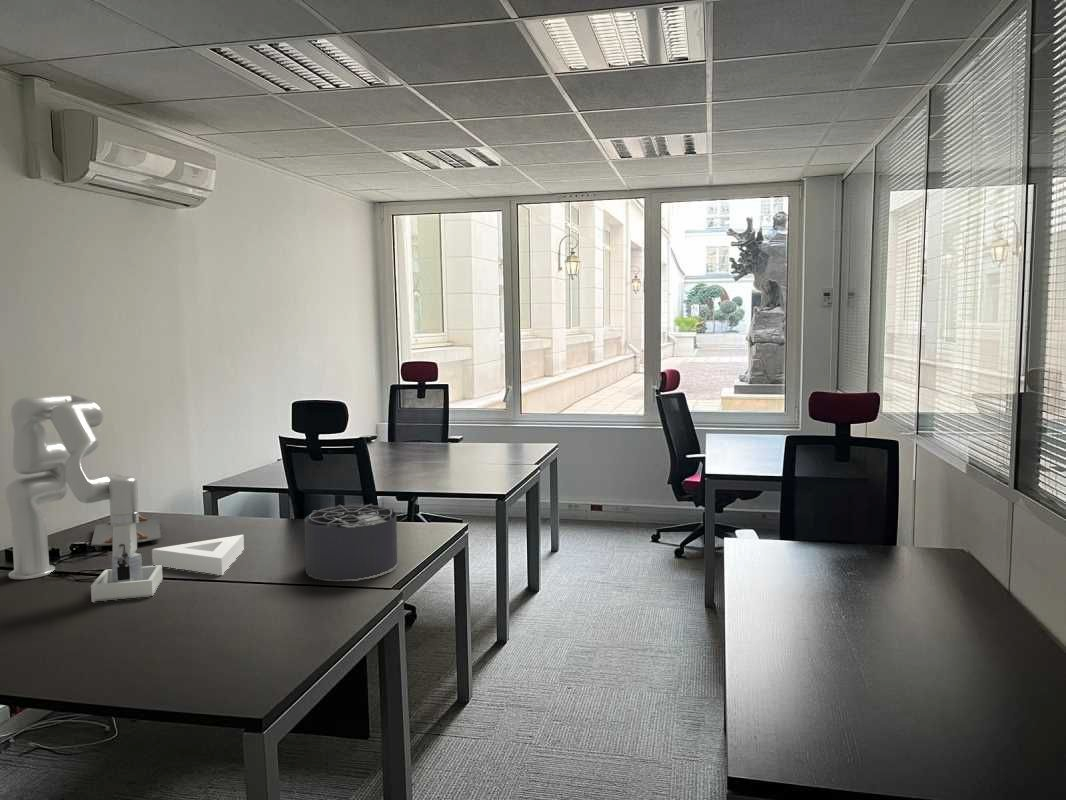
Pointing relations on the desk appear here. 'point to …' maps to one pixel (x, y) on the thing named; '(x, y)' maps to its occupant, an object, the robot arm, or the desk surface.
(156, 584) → the box
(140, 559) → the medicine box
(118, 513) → the robot arm
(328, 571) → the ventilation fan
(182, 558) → the triangular ruler
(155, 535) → the serving board
